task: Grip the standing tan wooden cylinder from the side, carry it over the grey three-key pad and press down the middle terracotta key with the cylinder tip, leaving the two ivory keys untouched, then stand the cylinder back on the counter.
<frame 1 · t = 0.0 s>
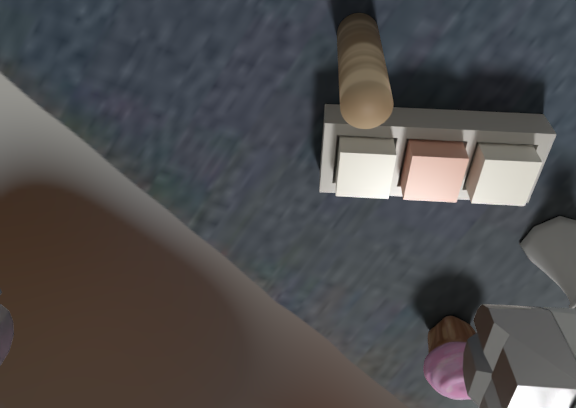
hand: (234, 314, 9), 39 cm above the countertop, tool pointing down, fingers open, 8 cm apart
ivory key 2: (364, 167, 48), point 5 cm above the countertop, slide at 0.0 cm
terracotta key: (432, 171, 48), point 5 cm above the countertop, slide at 0.0 cm
tan wooden cylinder: (357, 33, 45), on the countertop
ivory key 1: (501, 174, 48), point 5 cm above the countertop, slide at 0.0 cm
cupcake: (450, 325, 70), on the countertop
keypad bezel: (425, 144, 52), on the countertop
flask: (553, 238, 59), on the countertop
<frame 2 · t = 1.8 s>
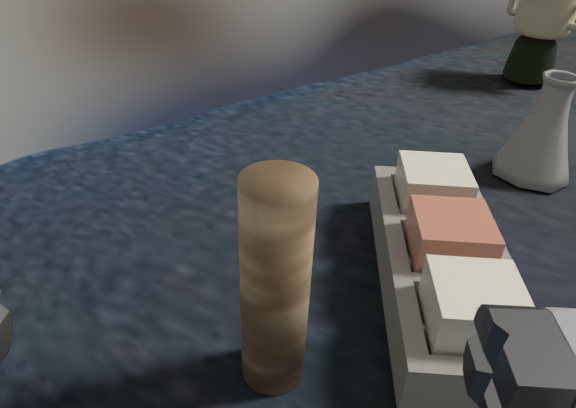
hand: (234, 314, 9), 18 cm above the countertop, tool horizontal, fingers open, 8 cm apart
character mug: (524, 83, 71), on the countertop
ivory key 2: (474, 305, 28), point 5 cm above the countertop, slide at 0.0 cm
terracotta key: (450, 235, 34), point 5 cm above the countertop, slide at 0.0 cm
tan wooden cylinder: (272, 368, 30), on the countertop
ivory key 1: (433, 183, 39), point 5 cm above the countertop, slide at 0.0 cm
keypad bezel: (436, 286, 36), on the countertop
flask: (527, 176, 50), on the countertop
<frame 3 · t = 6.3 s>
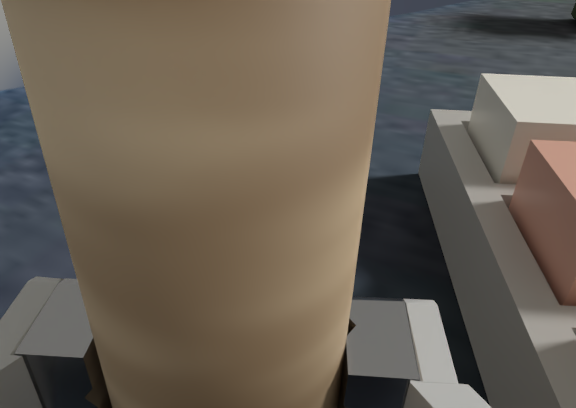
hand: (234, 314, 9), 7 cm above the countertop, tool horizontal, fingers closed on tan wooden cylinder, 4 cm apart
ivory key 1: (550, 130, 21), point 5 cm above the countertop, slide at 0.0 cm
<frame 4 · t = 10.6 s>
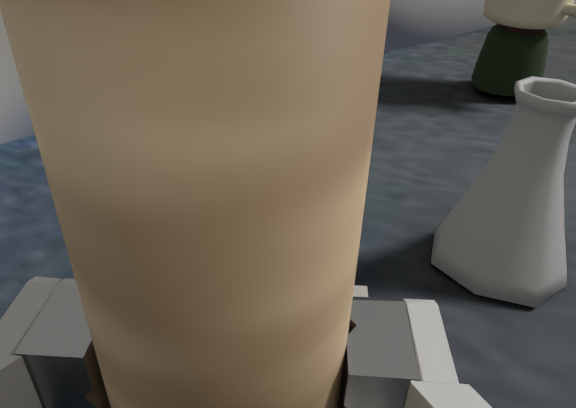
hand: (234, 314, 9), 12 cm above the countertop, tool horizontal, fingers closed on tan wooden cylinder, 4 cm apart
character mug: (502, 93, 50), on the countertop
flask: (494, 264, 28), on the countertop
when the fingers open (8 cm above the countertop, at t = 15.2 s): tan wooden cylinder stays where it is, on the countertop.
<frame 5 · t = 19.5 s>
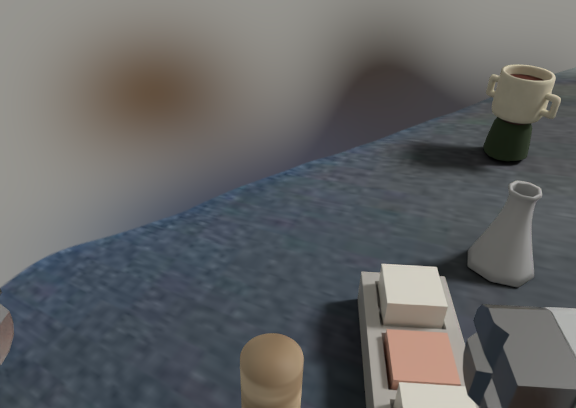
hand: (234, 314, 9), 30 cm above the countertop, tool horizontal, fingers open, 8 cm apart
character mug: (503, 156, 78), on the countertop
terracotta key: (418, 366, 41), point 3 cm above the countertop, slide at 1.6 cm
ivory key 1: (410, 295, 45), point 5 cm above the countertop, slide at 0.0 cm
keypad bezel: (412, 390, 43), on the countertop
flask: (498, 266, 57), on the countertop
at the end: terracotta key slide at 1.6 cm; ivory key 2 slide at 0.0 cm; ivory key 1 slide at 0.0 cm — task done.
